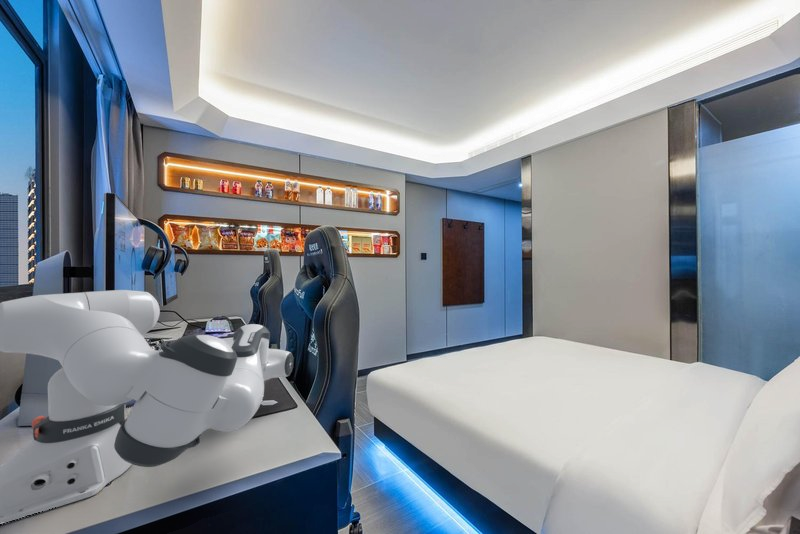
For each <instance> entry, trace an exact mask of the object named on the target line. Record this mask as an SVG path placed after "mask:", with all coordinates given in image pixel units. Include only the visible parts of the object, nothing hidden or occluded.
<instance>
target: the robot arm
mask: <svg viewBox="0 0 800 534" xmlns="http://www.w3.org/2000/svg"><path fill="white" fill-rule="evenodd" d="M160 310H161V309H160V304H159V302H158V301H157V299H156V298H155V296H153V295H152V294H151V293H150V292H148V291H143V290H132V289H131V290H130V289H115V290H114V289H113V290H100V291H99V290H98V291H82V292H67V293H51V294H50V293H49V294H38V295H31V296H25V297H20V298H16V299H10V300H6V301H2V302H0V352H1V353H4V354H5V353H8V354H10V353H11V354H28V355H36V356H42V357H45V358H49V359H53V360H56V361H58V362H59V363H60V365H61V368H60V369H58V370H57V371H56V372H55V373H53V375H52V376H51V377H50V379H49V380H48V383H47V406H48V410H47V411H48V415H47V416H45V415H39V416H36V417H34V419H32V420H31V421H32V423H31V427H32V429H33V430H32V435H33V436H32V437H33V440H32V441H31V442H29V443H28V444H27V445H25V446H24V447H23V448H22V449H21V450H19V451H18V452H17V453H15V454H14V455H12V456H11V457H10V458H9V459H7V460H6V461H5V462H4V463H3V464H1V465H0V523H1V522H7V521H11V520H15V519H18V518H21V517H23V516H27V515H30V514H34V513H37V514H39V513H38V512H40V513H43V512H46V511H49V509H50V510H52V508H53V509H56V508H58V507H62V506H66V505H68V504H72V503H74V502H78V501H81V500H85V499H88V498H90V497H92V496H95V495H97V494H98V493H99V492H100V491H101V490H103V489H104V488H105V486H106V485H108V484H109V483H110V482H112V481H113V480H115V479H117V478H119V477H120V476H121V475H123V473H125V472H126V471H127V470H128V469H129V468H130V467H131V466H132V465H133V466H136V467H141V468H142V467H143V468H155V467H159V466H161V465H163V464H164V465H165V464H167V463H169V462H172V461H173V460H175V459H176V458H178V457H179V456H180V455H182V454H183V453H184V452H186V451H187V450H189V449H191V448H194V447H196V446H198V445H199V444H200V443H201V439H200V436H201V435H202V433H204V432H205V431H207V430H214V431H217V432H218V431H219V432H225V433H226V432H227V433H228V432H233V431H235V430H238V429H240V428H242V427H243V426H244V425H246V424H247V423H249V421H251V420H252V418H254V415H256V413H257V412H258V410H259V409H260V406H261V405H262V401H263V399H264V394H265V386H266V384H267V383H268V382H269V381H270V380H271V379H274V378H277V379H278V378H286V377H289V376H290V375H291V373H292V371H293V368H294V356H293V353H292V352H290V351H288V350H284V349H278V348H277V349H276V348H270V347H269V346H270V338H271V332H270V330H269V329H268V328H267V327H266V326H265V325H262V324H259V323H258V324H256V323H250V324H245V325H242V326H240V327H239V328H237V329H236V330H235V331H234V332H233V335H232V340H233V343H232V346H231V345H229V343H228V342H226V340H224V339H222V338H221V337H217V336H215V335H210V334H201V333H193V334H188V335H185V336H181V337H179V338H177V339H175V340H166V341H164V342H162V344H161V345H160V347H159V348H160V350H161V351H158V350H156V349H154V348H152V347H151V345H150V344H149V343H148V341H147V340H146V339H145V337H144V336H145V335H146V334H147V333H148V332H149V331H151V330H152V329H154V328H155V325H156V324H157V322H158V321H159V318H160V314H161V311H160ZM133 399H134V400H136V402H135V404H134V406H132V409H131V410H130V411H129V414H128V416H127V417H126V415H127V413H126V409H127V408H125V403H126V402H128V401H131V400H133ZM55 507H56V508H55ZM42 511H43V512H42ZM34 515H35V514H34ZM27 517H28V516H27ZM21 519H22V518H21ZM18 520H19V519H18ZM15 521H16V520H15Z"/></svg>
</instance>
